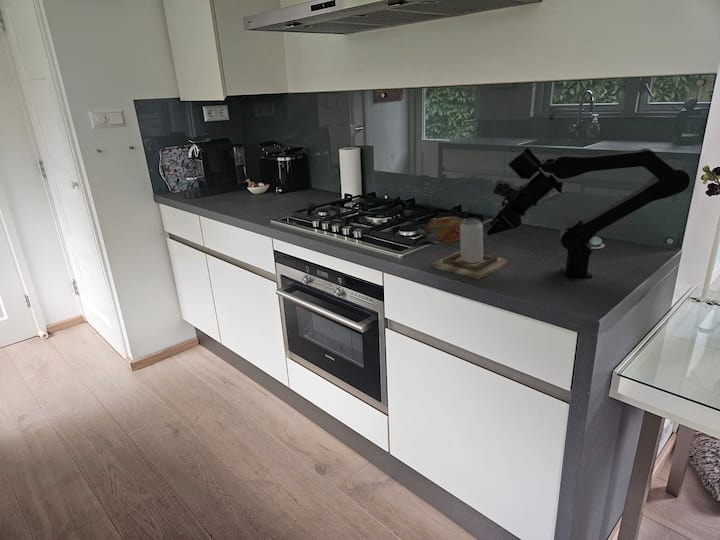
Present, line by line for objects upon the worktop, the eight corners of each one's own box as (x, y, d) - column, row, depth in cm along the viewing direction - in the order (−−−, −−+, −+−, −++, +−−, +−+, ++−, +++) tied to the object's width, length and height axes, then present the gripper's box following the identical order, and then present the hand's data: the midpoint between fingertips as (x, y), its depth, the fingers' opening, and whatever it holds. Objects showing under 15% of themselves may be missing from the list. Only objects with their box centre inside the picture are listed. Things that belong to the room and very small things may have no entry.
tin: (426, 245, 164) (426, 220, 162) (423, 242, 167) (423, 218, 164) (467, 239, 168) (468, 216, 165) (463, 237, 171) (464, 214, 168)
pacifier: (608, 247, 155) (590, 242, 160) (611, 228, 153) (593, 224, 158) (595, 252, 152) (577, 247, 156) (598, 232, 149) (580, 228, 154)
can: (487, 260, 143) (487, 221, 138) (469, 265, 141) (468, 226, 136) (474, 253, 149) (473, 216, 144) (456, 258, 146) (455, 220, 142)
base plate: (508, 264, 144) (508, 256, 143) (479, 279, 134) (479, 272, 133) (462, 253, 155) (462, 246, 154) (431, 267, 144) (431, 260, 144)
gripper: (514, 164, 139) (474, 201, 147) (510, 176, 123) (464, 217, 130) (541, 192, 139) (499, 228, 147) (541, 208, 123) (493, 247, 130)
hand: (489, 229), depth 139 cm, fingers open, 9 cm apart
